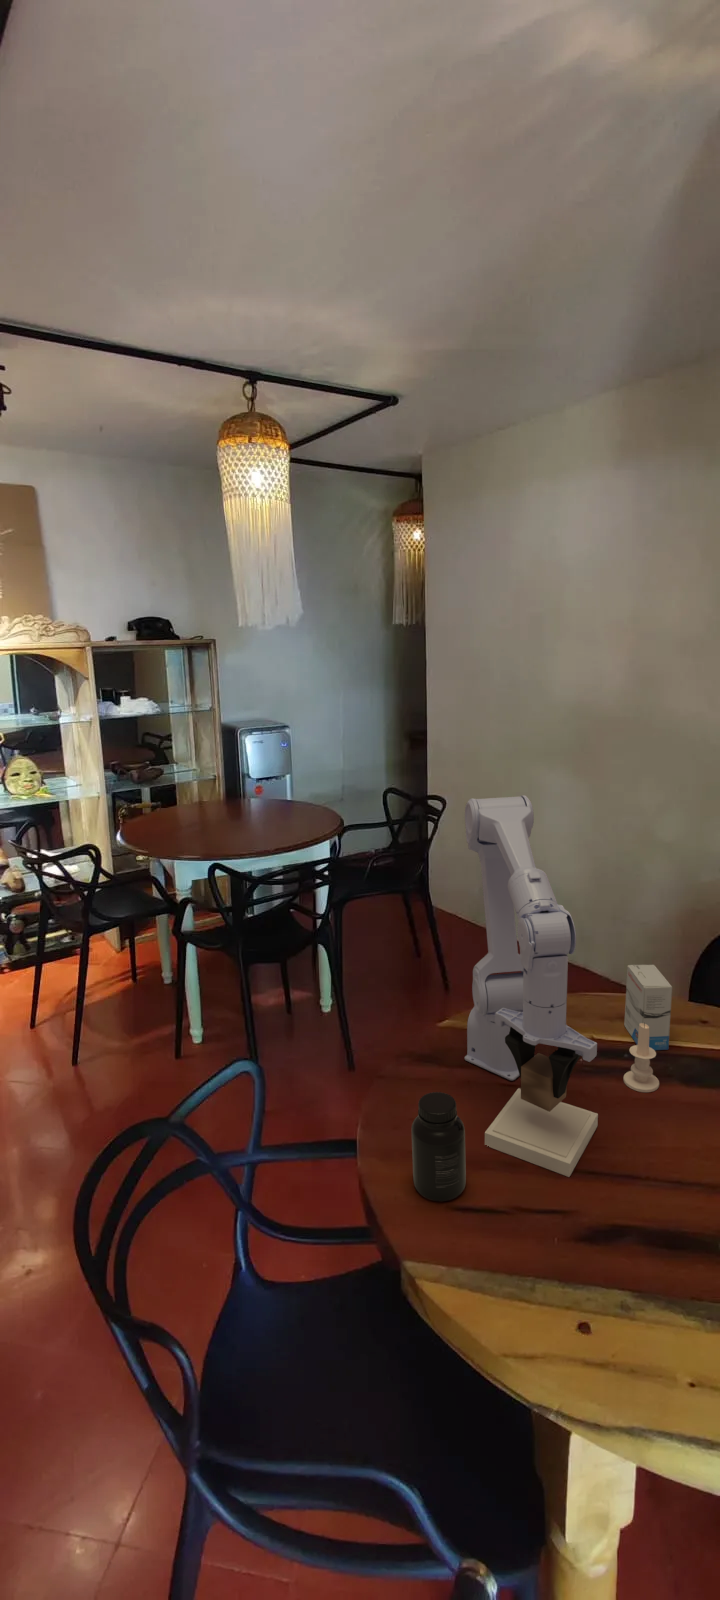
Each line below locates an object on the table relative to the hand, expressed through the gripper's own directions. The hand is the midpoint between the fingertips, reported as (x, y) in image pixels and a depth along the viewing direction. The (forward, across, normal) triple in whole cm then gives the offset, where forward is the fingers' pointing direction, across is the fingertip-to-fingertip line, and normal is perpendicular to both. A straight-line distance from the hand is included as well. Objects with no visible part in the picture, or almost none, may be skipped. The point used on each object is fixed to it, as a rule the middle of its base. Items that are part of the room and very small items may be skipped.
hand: (542, 1087), depth 106 cm
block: (+2, 0, 0) cm, 2 cm away
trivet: (+8, 0, 0) cm, 8 cm away
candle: (+8, +5, +21) cm, 23 cm away
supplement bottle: (+8, -5, -17) cm, 19 cm away
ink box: (+8, 0, +34) cm, 35 cm away
